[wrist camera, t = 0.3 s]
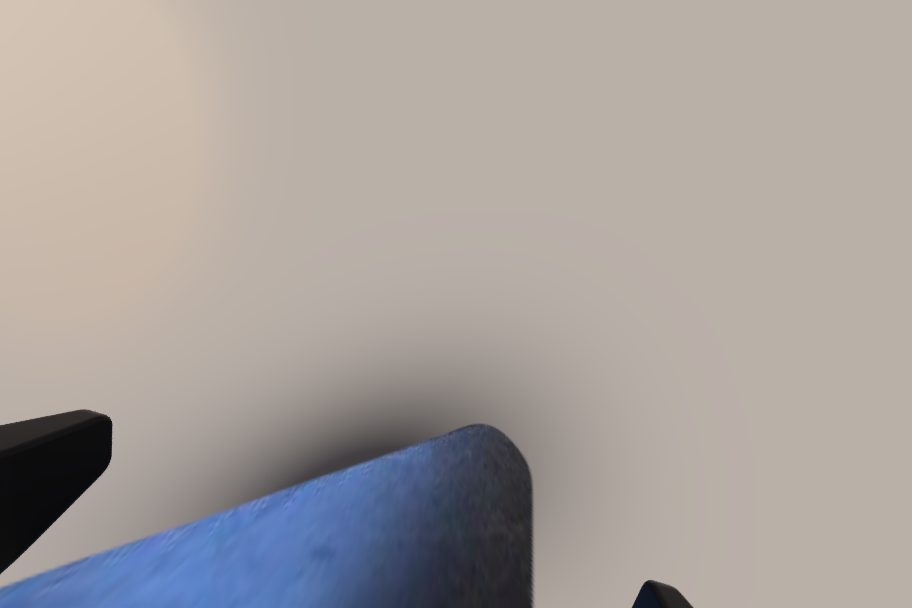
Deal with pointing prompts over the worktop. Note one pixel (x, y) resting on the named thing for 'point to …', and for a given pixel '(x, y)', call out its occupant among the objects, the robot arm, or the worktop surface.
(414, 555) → the worktop surface
